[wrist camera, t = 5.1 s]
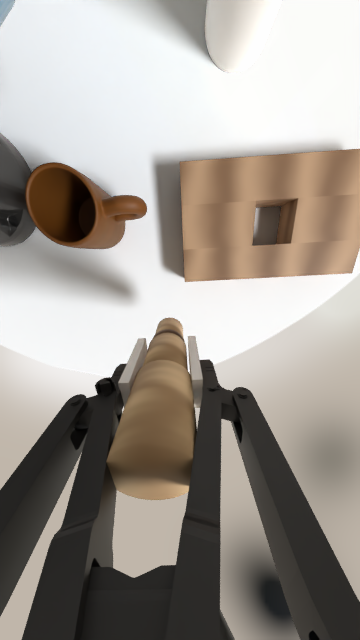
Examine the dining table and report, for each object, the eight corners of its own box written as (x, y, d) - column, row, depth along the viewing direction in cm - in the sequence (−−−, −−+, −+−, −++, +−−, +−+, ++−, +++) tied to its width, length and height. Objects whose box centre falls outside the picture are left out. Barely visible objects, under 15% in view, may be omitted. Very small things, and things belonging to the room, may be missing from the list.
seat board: (184, 278, 29) (184, 281, 25) (180, 175, 24) (179, 161, 20) (329, 270, 28) (351, 273, 25) (356, 163, 23) (390, 146, 20)
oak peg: (154, 345, 24) (114, 501, 9) (150, 314, 22) (93, 445, 7) (187, 343, 24) (201, 498, 9) (186, 312, 22) (200, 441, 7)
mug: (152, 187, 24) (135, 151, 16) (158, 245, 27) (146, 242, 18) (70, 194, 25) (9, 163, 16) (84, 251, 28) (39, 250, 19)
